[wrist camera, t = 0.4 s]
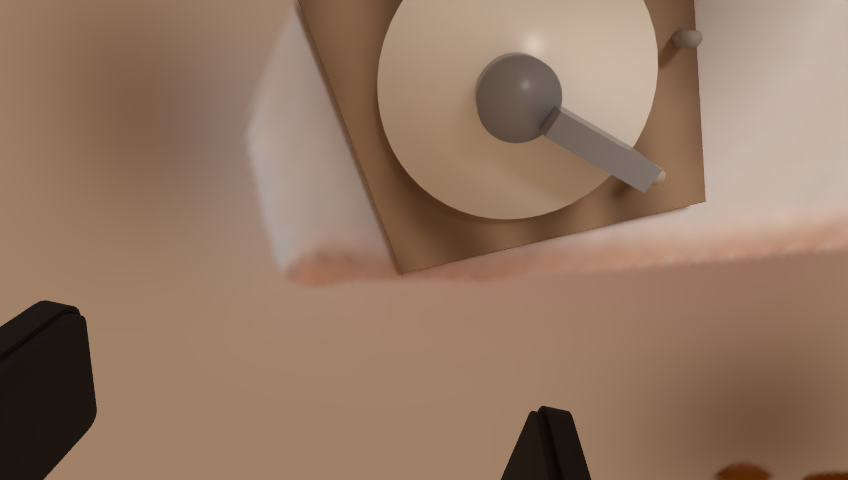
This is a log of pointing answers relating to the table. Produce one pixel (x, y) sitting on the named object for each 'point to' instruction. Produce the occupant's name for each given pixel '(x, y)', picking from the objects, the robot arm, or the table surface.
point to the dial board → (473, 235)
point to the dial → (518, 99)
